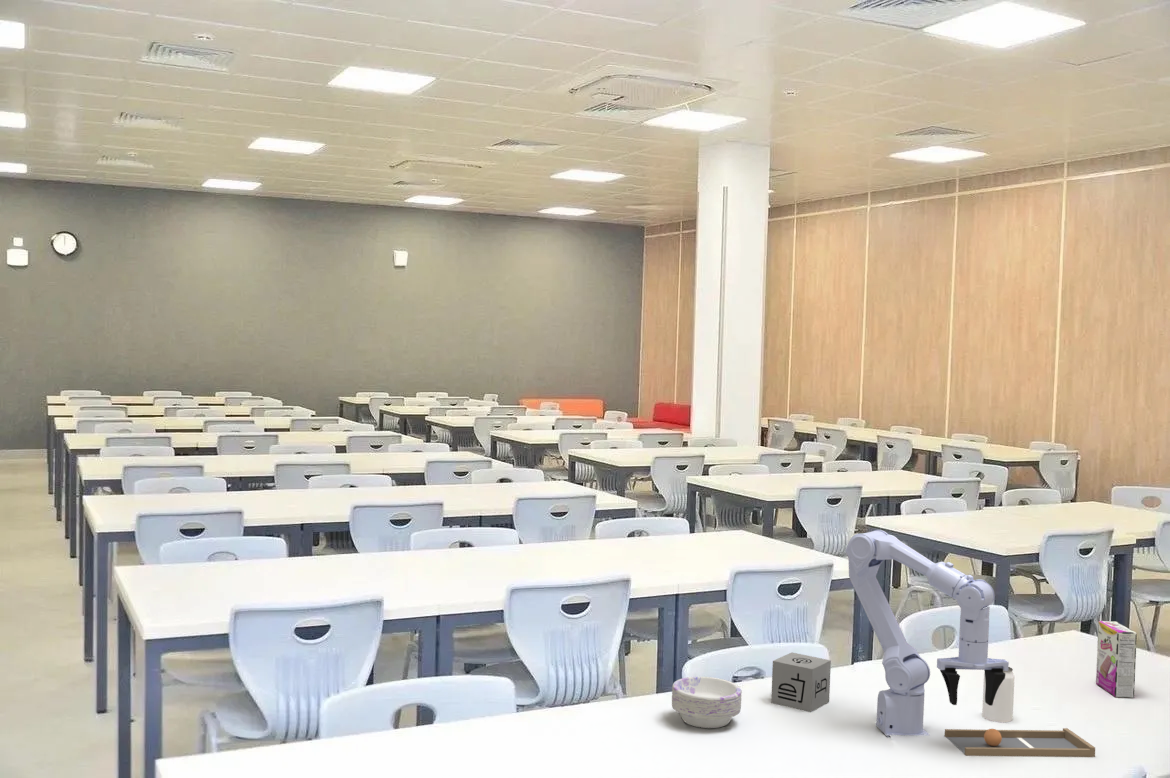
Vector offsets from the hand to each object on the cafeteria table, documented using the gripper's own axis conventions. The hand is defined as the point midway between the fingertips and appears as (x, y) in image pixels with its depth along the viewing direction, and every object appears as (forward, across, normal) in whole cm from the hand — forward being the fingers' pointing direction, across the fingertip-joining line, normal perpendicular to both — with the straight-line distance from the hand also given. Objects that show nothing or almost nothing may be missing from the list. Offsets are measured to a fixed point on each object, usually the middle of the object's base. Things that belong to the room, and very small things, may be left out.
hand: (970, 703), depth 231 cm
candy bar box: (+10, +54, +41) cm, 68 cm away
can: (+10, +14, +18) cm, 25 cm away
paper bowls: (+10, -53, +15) cm, 56 cm away
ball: (+9, +5, 0) cm, 10 cm away
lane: (+9, +10, 0) cm, 14 cm away
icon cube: (+10, -28, +29) cm, 42 cm away
